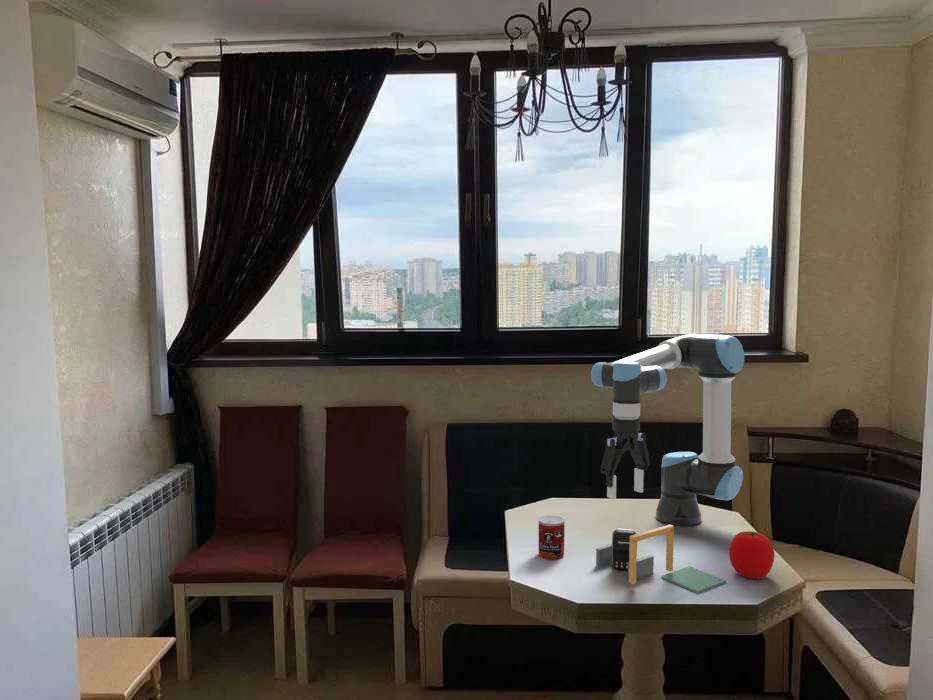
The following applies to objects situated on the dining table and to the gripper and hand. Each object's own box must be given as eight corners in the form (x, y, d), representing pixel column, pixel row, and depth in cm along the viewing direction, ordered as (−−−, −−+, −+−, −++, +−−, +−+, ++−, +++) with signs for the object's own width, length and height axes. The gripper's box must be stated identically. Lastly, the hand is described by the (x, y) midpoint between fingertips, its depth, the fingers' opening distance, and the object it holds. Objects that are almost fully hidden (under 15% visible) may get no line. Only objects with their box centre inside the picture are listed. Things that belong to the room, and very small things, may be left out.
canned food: (535, 558, 205) (535, 522, 204) (542, 548, 213) (542, 514, 212) (561, 561, 202) (561, 525, 201) (566, 552, 210) (566, 516, 209)
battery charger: (611, 571, 195) (612, 531, 194) (611, 565, 199) (612, 527, 198) (637, 573, 194) (637, 533, 193) (636, 567, 198) (637, 529, 197)
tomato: (751, 587, 184) (752, 541, 183) (719, 571, 195) (720, 527, 194) (785, 579, 189) (786, 534, 188) (751, 564, 200) (753, 521, 199)
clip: (618, 558, 205) (618, 542, 204) (653, 573, 193) (653, 556, 193) (596, 565, 200) (596, 548, 199) (631, 581, 188) (631, 563, 188)
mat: (689, 568, 197) (689, 566, 197) (726, 582, 187) (726, 580, 187) (661, 577, 190) (661, 575, 190) (697, 593, 180) (697, 591, 180)
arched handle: (668, 568, 193) (669, 524, 192) (672, 570, 192) (673, 525, 191) (628, 582, 184) (629, 536, 183) (632, 584, 183) (633, 537, 182)
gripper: (643, 411, 202) (642, 485, 204) (587, 419, 190) (586, 498, 191) (664, 414, 196) (662, 491, 198) (606, 423, 183) (605, 505, 185)
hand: (625, 494), depth 195 cm, fingers open, 10 cm apart
